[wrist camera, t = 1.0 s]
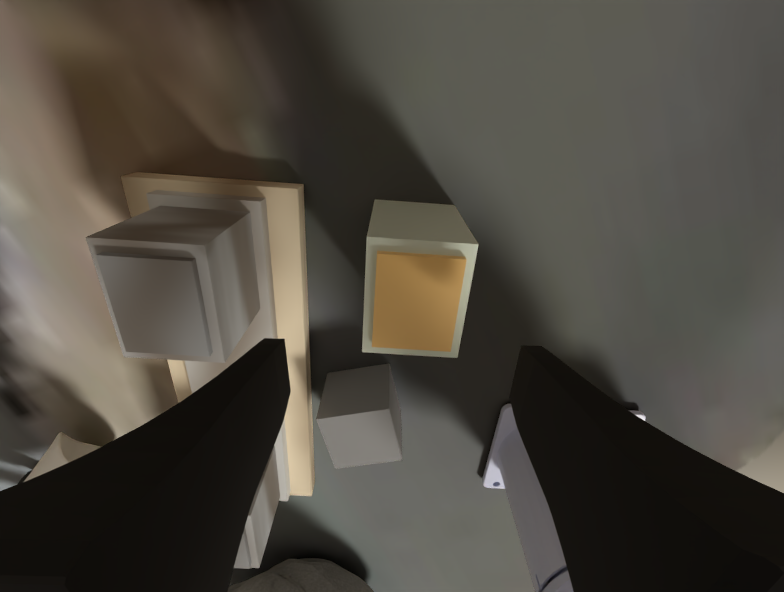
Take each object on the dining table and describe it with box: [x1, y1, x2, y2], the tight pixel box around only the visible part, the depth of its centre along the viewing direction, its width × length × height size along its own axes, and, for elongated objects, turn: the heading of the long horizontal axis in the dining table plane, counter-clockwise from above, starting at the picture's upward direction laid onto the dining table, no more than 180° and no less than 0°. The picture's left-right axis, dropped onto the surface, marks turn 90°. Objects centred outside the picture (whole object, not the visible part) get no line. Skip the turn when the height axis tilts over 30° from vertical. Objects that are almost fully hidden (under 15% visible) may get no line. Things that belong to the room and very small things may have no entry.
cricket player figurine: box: [17, 432, 101, 485], centre depth 22 cm, size 13×10×15 cm
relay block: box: [316, 363, 402, 469], centre depth 22 cm, size 4×4×4 cm
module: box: [362, 199, 479, 358], centre depth 17 cm, size 4×5×6 cm
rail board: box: [86, 172, 315, 569], centre depth 20 cm, size 8×22×7 cm, turn 176°
